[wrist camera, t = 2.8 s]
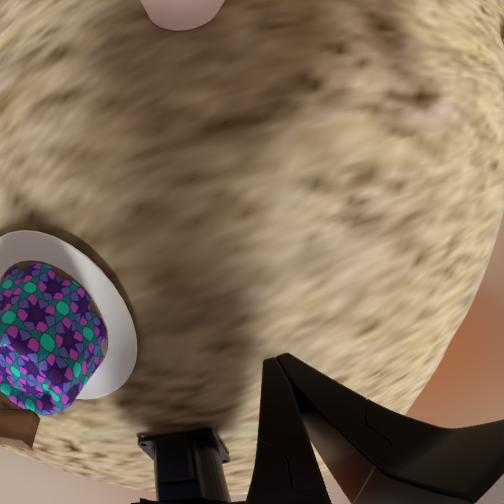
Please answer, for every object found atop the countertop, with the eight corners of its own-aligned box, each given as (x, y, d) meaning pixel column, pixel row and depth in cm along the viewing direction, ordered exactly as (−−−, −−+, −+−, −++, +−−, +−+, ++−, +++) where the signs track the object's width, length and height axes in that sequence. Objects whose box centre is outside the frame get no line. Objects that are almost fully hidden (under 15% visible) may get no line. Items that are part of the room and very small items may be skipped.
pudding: (-21, 339, 11) (-51, 381, 7) (-2, 189, 10) (-61, 209, 5) (109, 412, 16) (103, 468, 11) (172, 292, 14) (172, 356, 9)
